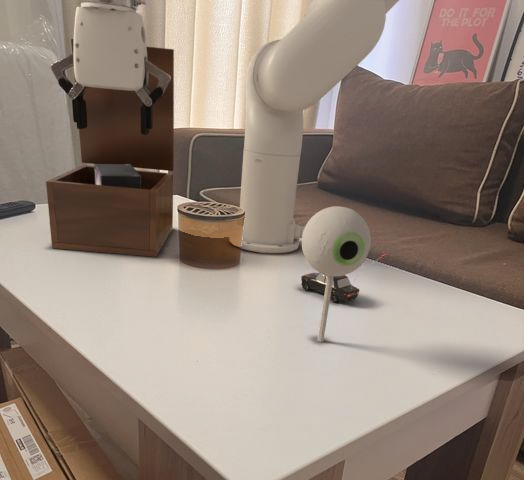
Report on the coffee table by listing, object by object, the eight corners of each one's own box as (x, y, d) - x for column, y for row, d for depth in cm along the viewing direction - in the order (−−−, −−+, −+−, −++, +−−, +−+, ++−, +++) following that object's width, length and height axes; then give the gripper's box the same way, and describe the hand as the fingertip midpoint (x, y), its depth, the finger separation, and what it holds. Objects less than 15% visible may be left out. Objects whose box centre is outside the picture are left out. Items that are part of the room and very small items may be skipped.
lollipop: (301, 356, 56) (321, 214, 49) (281, 328, 62) (296, 198, 55) (362, 353, 58) (389, 216, 51) (336, 326, 64) (357, 200, 57)
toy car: (314, 283, 77) (322, 230, 74) (382, 310, 70) (394, 252, 66) (297, 287, 75) (303, 232, 71) (364, 316, 67) (376, 256, 64)
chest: (156, 257, 82) (156, 191, 77) (51, 248, 81) (45, 181, 76) (172, 229, 98) (173, 173, 93) (85, 221, 97) (82, 165, 92)
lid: (173, 49, 83) (177, 48, 87) (70, 38, 82) (80, 38, 87) (173, 171, 93) (177, 164, 97) (81, 162, 92) (89, 156, 96)
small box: (95, 225, 91) (92, 162, 87) (133, 225, 94) (132, 163, 89) (102, 242, 83) (98, 173, 78) (143, 241, 85) (143, 174, 80)
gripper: (174, 9, 77) (173, 134, 85) (55, -3, 76) (65, 124, 84) (166, 1, 70) (166, 138, 78) (35, -12, 69) (48, 128, 77)
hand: (113, 131), depth 81 cm, fingers open, 9 cm apart
